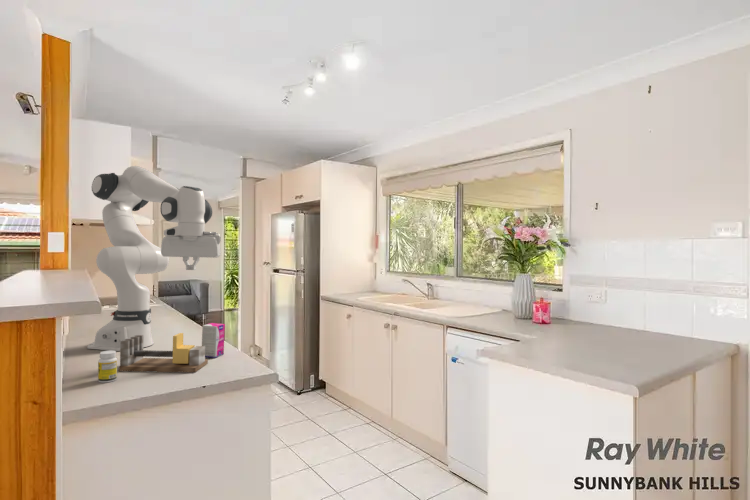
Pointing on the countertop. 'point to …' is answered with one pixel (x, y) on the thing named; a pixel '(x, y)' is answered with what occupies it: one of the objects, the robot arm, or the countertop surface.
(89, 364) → the countertop surface
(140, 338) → the wooden board with slider
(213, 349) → the supplement box
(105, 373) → the supplement bottle
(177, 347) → the yellow l-shaped block
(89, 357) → the countertop surface
